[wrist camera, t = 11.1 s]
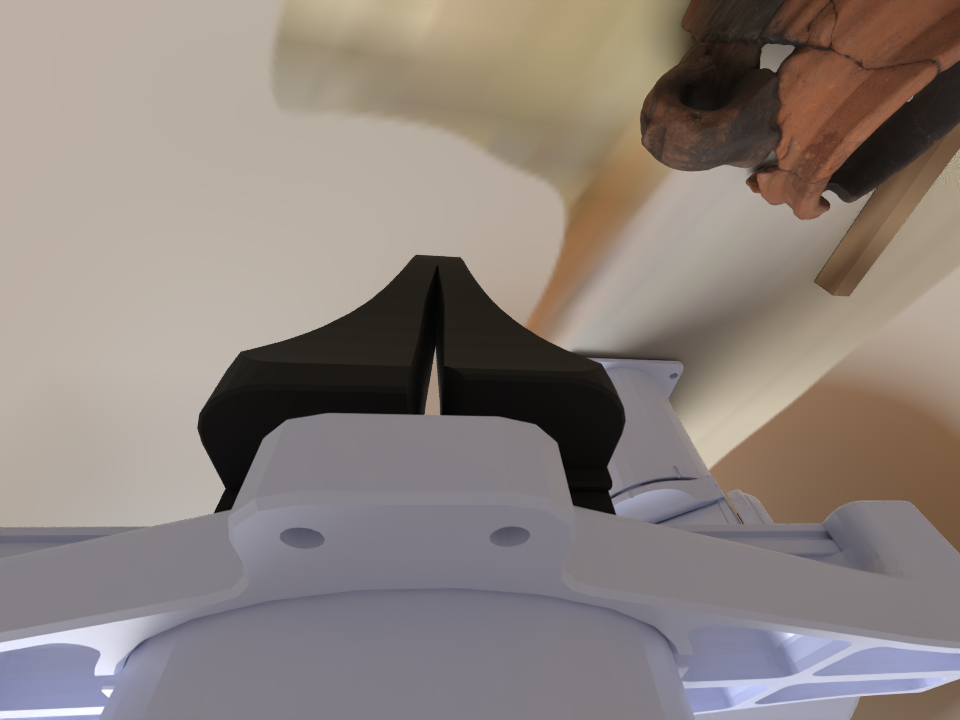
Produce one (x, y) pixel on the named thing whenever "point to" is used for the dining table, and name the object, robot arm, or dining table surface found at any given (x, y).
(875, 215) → the rail
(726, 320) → the dining table surface
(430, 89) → the dining table surface
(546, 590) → the robot arm
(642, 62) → the dining table surface
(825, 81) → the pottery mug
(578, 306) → the dining table surface
